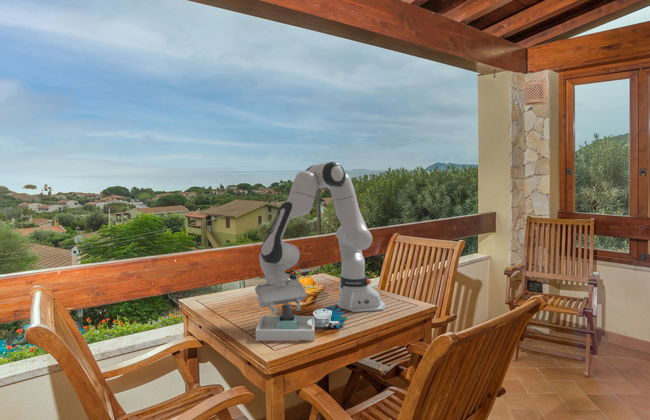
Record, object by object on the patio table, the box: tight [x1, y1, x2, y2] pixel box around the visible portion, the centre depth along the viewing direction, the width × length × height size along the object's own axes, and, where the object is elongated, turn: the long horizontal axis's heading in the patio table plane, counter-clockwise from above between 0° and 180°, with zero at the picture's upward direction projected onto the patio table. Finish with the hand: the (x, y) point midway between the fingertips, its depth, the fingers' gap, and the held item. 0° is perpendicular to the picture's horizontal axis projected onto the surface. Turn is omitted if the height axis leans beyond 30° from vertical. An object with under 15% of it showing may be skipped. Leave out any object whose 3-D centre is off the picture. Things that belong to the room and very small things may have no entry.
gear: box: [322, 305, 348, 329], centre depth 171 cm, size 11×6×10 cm
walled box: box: [255, 314, 316, 342], centre depth 162 cm, size 22×16×5 cm
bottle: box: [281, 302, 293, 321], centre depth 164 cm, size 4×4×10 cm
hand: (287, 312), depth 163 cm, fingers open, 8 cm apart
